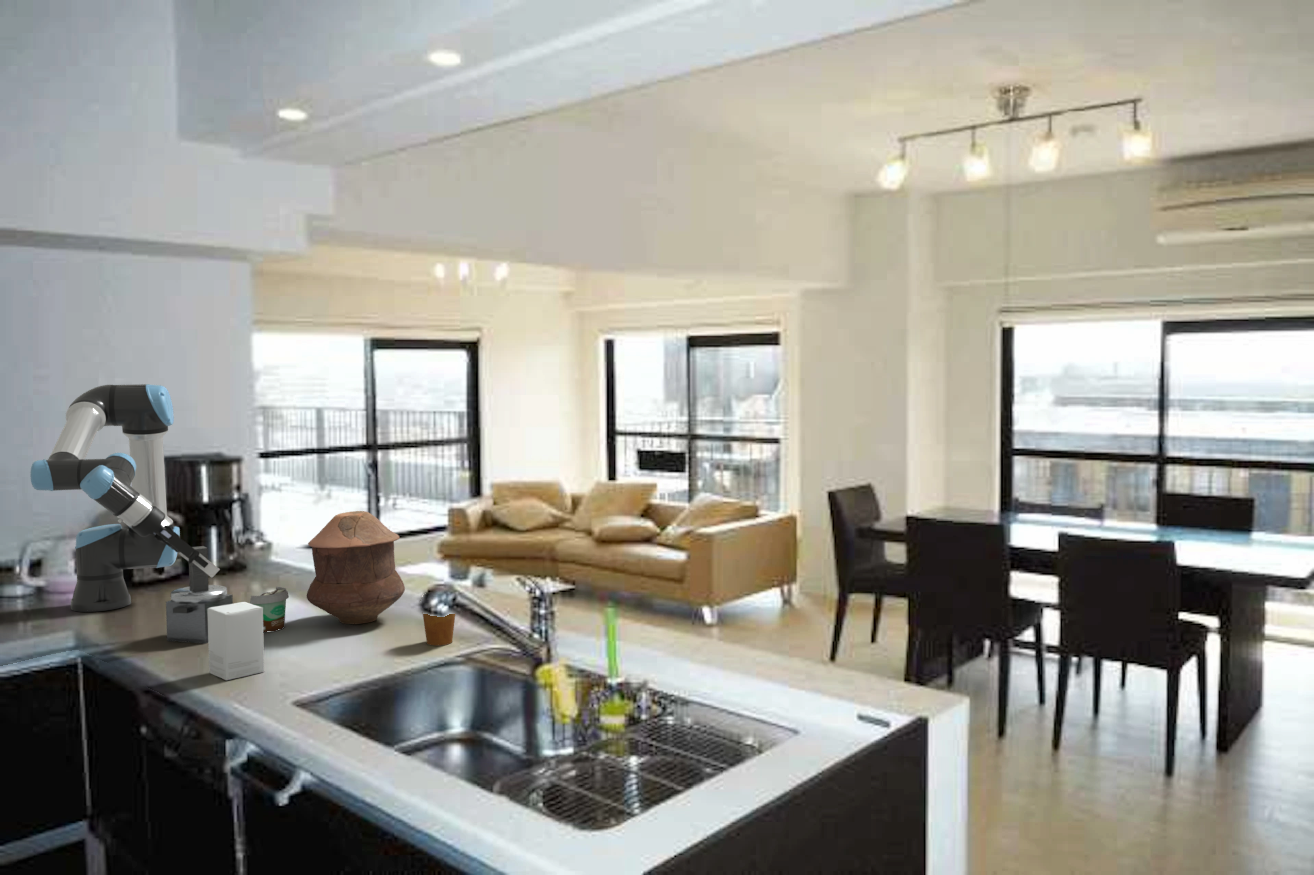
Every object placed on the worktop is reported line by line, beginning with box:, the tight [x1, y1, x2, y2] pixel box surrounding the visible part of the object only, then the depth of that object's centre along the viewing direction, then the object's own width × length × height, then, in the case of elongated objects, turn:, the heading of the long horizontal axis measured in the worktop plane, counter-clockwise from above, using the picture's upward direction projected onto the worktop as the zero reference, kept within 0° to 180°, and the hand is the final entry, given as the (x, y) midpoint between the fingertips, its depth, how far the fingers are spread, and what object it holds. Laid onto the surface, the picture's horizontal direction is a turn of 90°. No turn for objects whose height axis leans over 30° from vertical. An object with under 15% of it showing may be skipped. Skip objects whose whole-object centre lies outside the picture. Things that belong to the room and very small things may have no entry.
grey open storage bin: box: [165, 593, 234, 645], centre depth 248 cm, size 15×11×10 cm
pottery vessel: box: [306, 510, 406, 625], centre depth 264 cm, size 26×26×30 cm
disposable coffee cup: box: [419, 593, 456, 647], centre depth 243 cm, size 10×10×12 cm
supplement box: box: [207, 601, 265, 681], centre depth 218 cm, size 9×9×15 cm
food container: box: [249, 586, 290, 633], centre depth 256 cm, size 12×6×10 cm, turn 168°
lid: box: [170, 545, 228, 604], centre depth 248 cm, size 13×13×13 cm
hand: (208, 569), depth 249 cm, fingers open, 13 cm apart
